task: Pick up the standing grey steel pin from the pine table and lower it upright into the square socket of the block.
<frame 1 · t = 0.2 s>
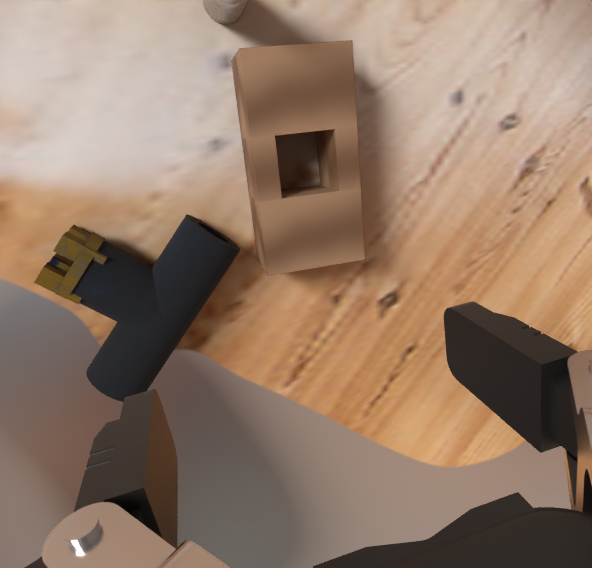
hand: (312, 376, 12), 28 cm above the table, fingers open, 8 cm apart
pipe connector: (129, 279, 39), on the table
socket block: (292, 161, 39), on the table
pin: (223, 1, 34), on the table
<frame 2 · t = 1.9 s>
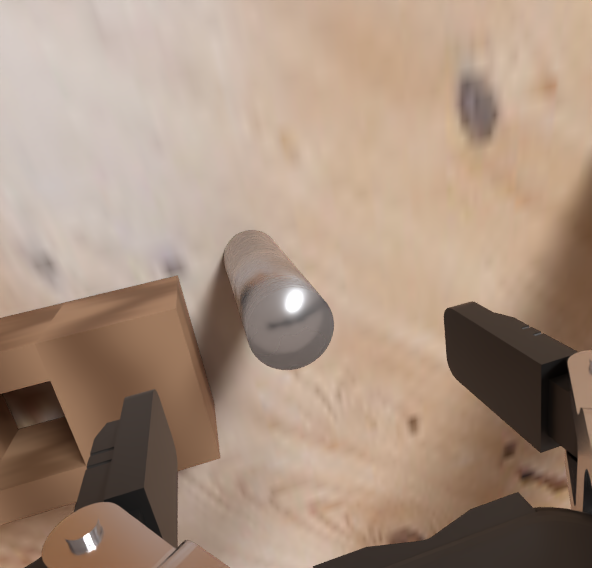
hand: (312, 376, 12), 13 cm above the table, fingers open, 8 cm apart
socket block: (46, 382, 24), on the table
pin: (251, 257, 25), on the table
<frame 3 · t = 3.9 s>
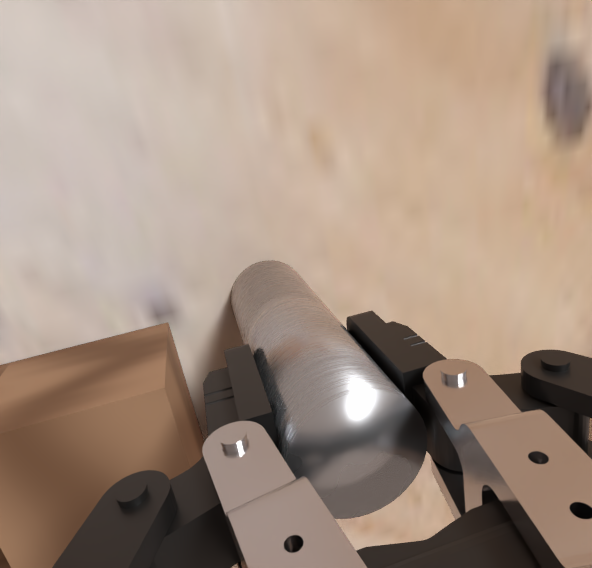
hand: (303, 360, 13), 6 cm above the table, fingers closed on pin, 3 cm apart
pin: (268, 296, 18), on the table, touching gripper
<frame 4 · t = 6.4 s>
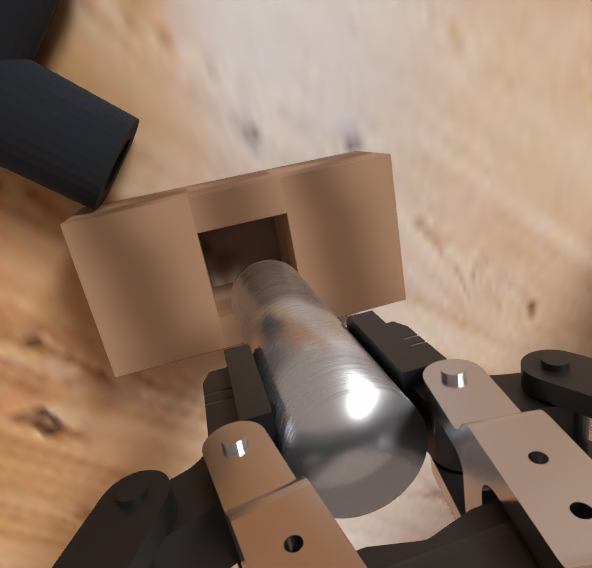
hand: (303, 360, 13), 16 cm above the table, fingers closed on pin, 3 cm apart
pipe connector: (2, 24, 22), on the table
socket block: (240, 244, 28), on the table
pin: (268, 296, 18), point 10 cm above the table, touching gripper
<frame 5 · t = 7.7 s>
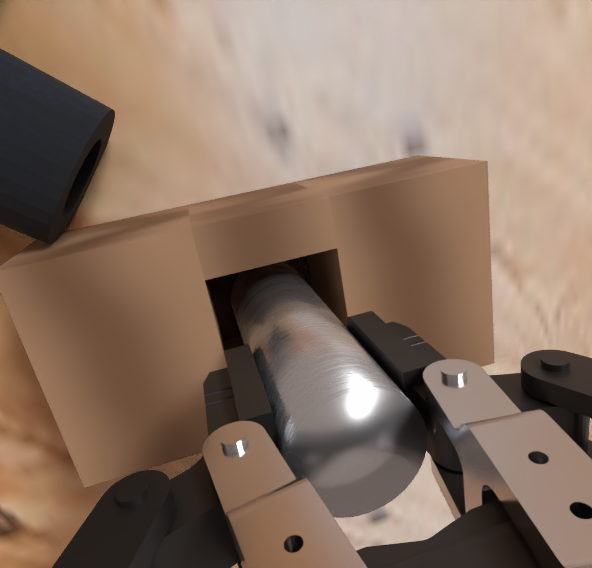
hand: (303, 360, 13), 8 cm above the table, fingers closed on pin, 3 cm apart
socket block: (261, 282, 21), on the table
pin: (268, 295, 18), point 2 cm above the table, touching gripper
when the fingers open (7 cm above the table, at t = 8.9 s): pin stays where it is, resting in socket block.
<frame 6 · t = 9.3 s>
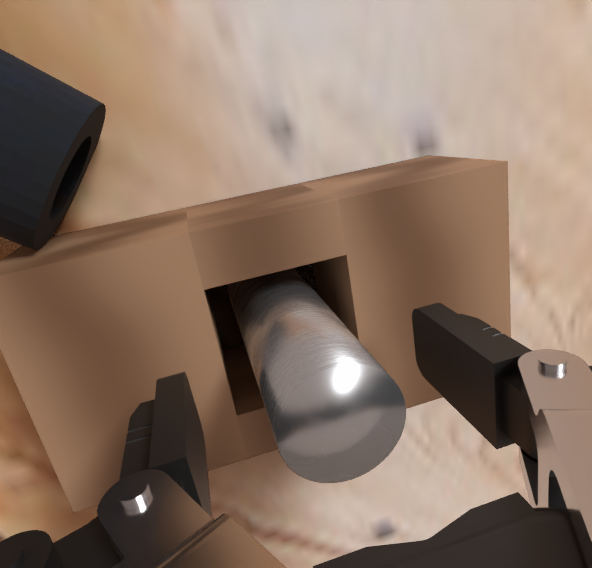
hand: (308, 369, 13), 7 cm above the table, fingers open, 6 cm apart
socket block: (263, 289, 19), on the table
pin: (264, 287, 19), resting in socket block
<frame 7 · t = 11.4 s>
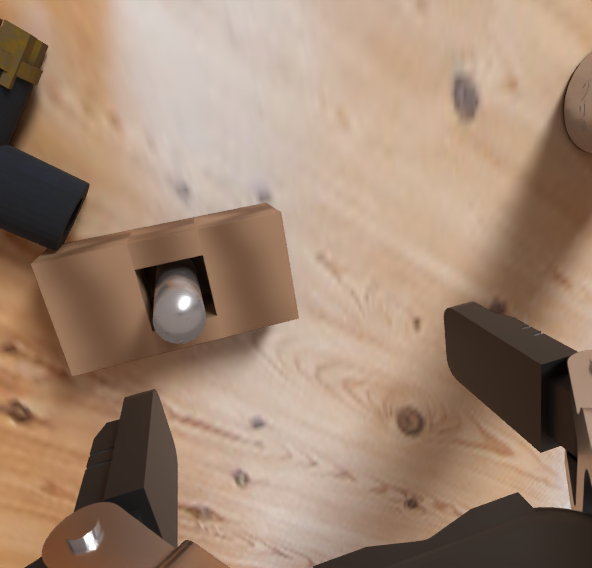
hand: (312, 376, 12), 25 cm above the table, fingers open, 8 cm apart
socket block: (175, 273, 36), on the table
pin: (176, 272, 36), resting in socket block
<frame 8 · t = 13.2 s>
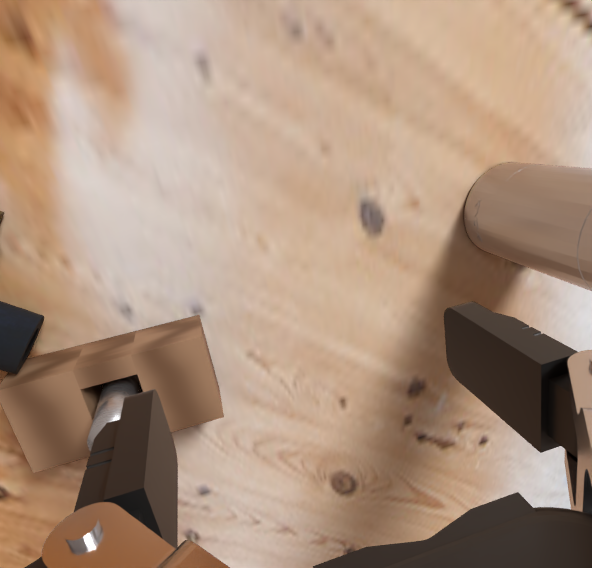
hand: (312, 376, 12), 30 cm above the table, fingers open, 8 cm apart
socket block: (124, 375, 43), on the table
pin: (124, 375, 43), resting in socket block
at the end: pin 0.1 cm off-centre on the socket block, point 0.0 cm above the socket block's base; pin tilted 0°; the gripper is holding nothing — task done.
